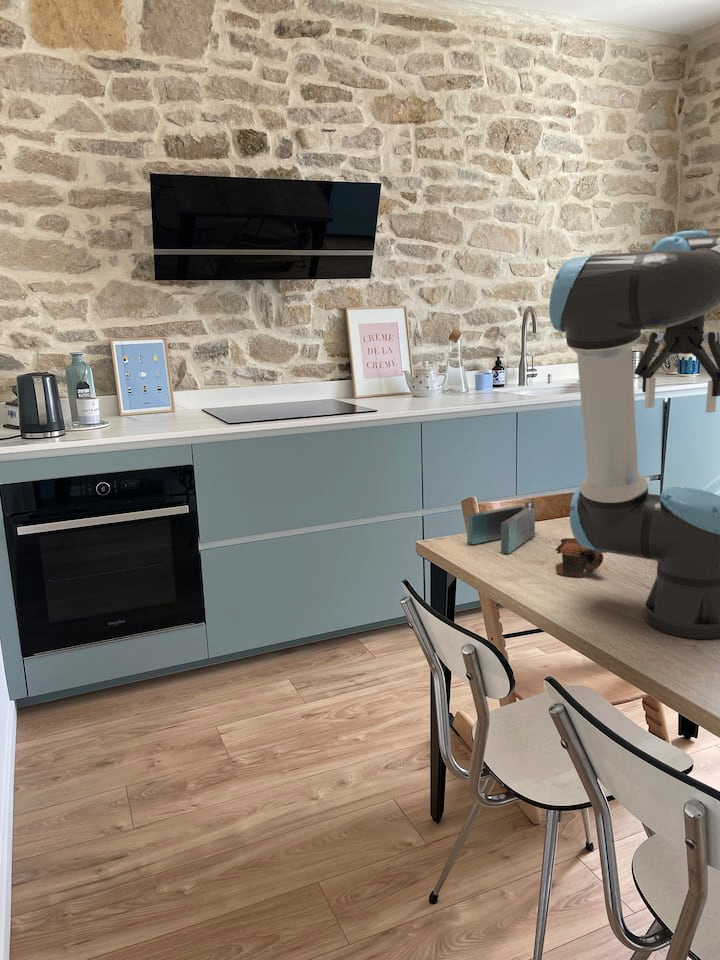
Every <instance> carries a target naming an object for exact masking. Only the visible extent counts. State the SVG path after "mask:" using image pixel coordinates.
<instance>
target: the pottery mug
mask: <svg viewBox="0 0 720 960" xmlns="http://www.w3.org/2000/svg"><path fill="white" fill-rule="evenodd" d="M555 552H557V553H556V554H558V555H560V554H561V557H562V558H561V560H562V562H560V563H556V564H555V569H556V570H555V571H556V573H557V575H566V576H570V577H577V578H580V579H581V578H583V575H584V571H586V573H587V574H592V573H594V571H595V570H597V569H599V568H600V566H601V565H602V563H603V561H604V553H601V552H599V551H596V550H593V549H588V548H585V547H583V546H581V545H580V544H579V543H578V542H577V541H576V539H575V537H574V538H573V537H571V538H569V537H567V538H562V539H561V540H560V544H559V545H558V546H557V547H556V548H555Z"/></svg>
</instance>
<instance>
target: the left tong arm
mask: <svg viewBox="0 0 720 960" xmlns="http://www.w3.org/2000/svg"><path fill="white" fill-rule="evenodd" d="M524 509H525V505H521V504H518V505H517V504H516V505H514V506H513V505H512V506H508V507H507V506H506V507H501V508H496V509H490V510H484V511H481V512H480V511H479V512H476V513H469V514H467V515H466V516H467V517H466V521H467V524H466V527H467V530H466V535H467V536H466V537H467V538H466V539H467V540H466V541H467V544H469V545H471V546H473V545H477V544H481V543H485V542H486V543H487V542H491V541H496V540H501V523H503V522H504V521H506V520H508V519H509V518H511V517H513V516H514V515H516V514H518V513H519V512H521V511H523V510H524Z"/></svg>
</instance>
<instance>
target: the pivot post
mask: <svg viewBox="0 0 720 960" xmlns="http://www.w3.org/2000/svg"><path fill="white" fill-rule="evenodd" d="M524 506H525V509H526V508H527V507H531V508H535V502H534V501H526V502H525V503H524Z"/></svg>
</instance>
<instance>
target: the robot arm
mask: <svg viewBox="0 0 720 960" xmlns="http://www.w3.org/2000/svg"><path fill="white" fill-rule="evenodd" d="M719 306H720V234H711V235H710V233H709V232H708V231H706V230H684V231H682V230H681V231H678V232H675V233H673V234H672V235H671V236H667V237H663V238H662V239H660V240H659V241H657V242H656V243H655V244H654V245H653V247H652V249H651V251H641V252H639V251H637V252H623V253H622V252H621V253H607V254H606V253H605V254H591V255H585V256H580V257H573V258H570V259H568V260H566V261H565V262H564V263H563V264H561V266H560V268H559V269H558V271H557V273H556V274H555V277H554V280H553V283H552V287H551V291H550V297H549V308H548V309H549V319H550V323H551V324H552V328H553V329H554V330H556V331H558V332H561V333H564V332H565V337H566V338H565V341H566V346H567V347H568V348H570V350H572V351H574V352H575V353H576V354H577V355H576V356H577V368H578V369H577V370H578V378H579V391H580V393H579V394H580V403H581V404H580V405H581V414H582V424H583V425H582V426H583V428H582V429H583V437H584V439H583V440H584V452H585V463H586V474H587V476H586V477H585V478H584V479H583V480H582V481H581V482H580V484H579V487H578V488H577V489H576V490H575V491H574V493H573V494H572V498H571V500H570V501H571V502H570V505H569V506H570V512H569V524H570V530H571V532H572V535H573V537H574V538H575V539H576V541H577V542H578V543H579V544H580V545H581V546H583V547H585V548H588V549H593V550H596V551H599V552H601V553H602V554H606V553H608V554H616V555H621V556H627V557H632V558H633V557H634V558H639V559H643V560H644V559H646V560H649V561H651V560H652V561H656V563H657V566H656V578H655V580H654V582H653V585H652V587H651V589H650V591H649V594H648V595H647V597H646V601H645V604H644V608H643V609H644V613H643V619H644V620H645V622H646V623H647V624H648V625H649V626H651V627H652V628H654V629H656V630H657V631H661V632H663V633H666V634H668V635H672V636H676V637H681V638H687V639H696V640H715V639H720V495H718V494H716V493H713V492H710V491H707V490H703V489H698V488H692V487H680V486H671V487H666V488H664V489H663V490H662V491H661V493H660V494H653V493H649V483H648V480H647V479H646V477H644V476H643V475H641V473H639V466H638V465H639V464H638V461H639V460H638V448H637V447H638V445H637V444H638V442H637V429H636V428H637V427H636V425H637V424H636V406H635V405H636V404H635V387H634V375H638V376H640V377H641V378H642V386H641V387H642V393H645V395H644V409H650V408H655V398H656V396H655V395H656V382H657V380H656V379H657V378H656V377H654V375H655V374H656V372H657V371H658V370H659V369H660V368H661V367H662V366H663V364H664V363H665V362H666V361H667V360H668V359H669V358H670V357H671V355H673V354H676V355H677V354H678V355H679V354H684V355H688V354H692V355H693V356H694V357H695V358H696V360H697V361H698V362H699V364H700V365H701V366H702V367H703V369H704V371H706V373H707V374H708V376H709V377H710V378H711V380H708V381H707V392H706V402H705V403H706V406H705V413H709V414H710V413H715V412H716V410H717V409H716V408H717V407H716V406H717V397H720V333H719V332H718V331H709V332H707V333H705V331H704V328H705V317H706V314H708V313H709V312H711V311H713V310H715V309H717V308H718V307H719ZM657 329H665V332H664V333H662V332H659V331H658V332H657V331H656V332H651V334H650V338H649V342H648V345H647V347H646V348H645V350H644V352H643V354H642V356H641V358H640V360H639V362H638V363H637V366H636V368H635V370H634V368H633V367H634V366H633V365H634V364H633V348H632V347H633V346H634V345H635V344H636V343H637V342H638V341H639V340H640V339H641V337H642V330H657ZM704 340H705V342H706V343H707V344H708V347H709V351H710V352H711V355H712V357H713V360H714V362H713V360H712V359H711V358H710V356H709V355H708V354H707V352H706V349H705V348H704V346H703V345H702V343H703V342H704ZM663 341H664V342H665V344H666V345H665V346H664V347H663V348H662V349H661V350H660V353H659V354H658V355H657V356H656V357H655V358H654V356H655V354H656V352H657V350H658V348H659V346H660V345H661V343H662V342H663ZM653 358H654V359H653ZM652 360H653V361H652Z"/></svg>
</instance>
